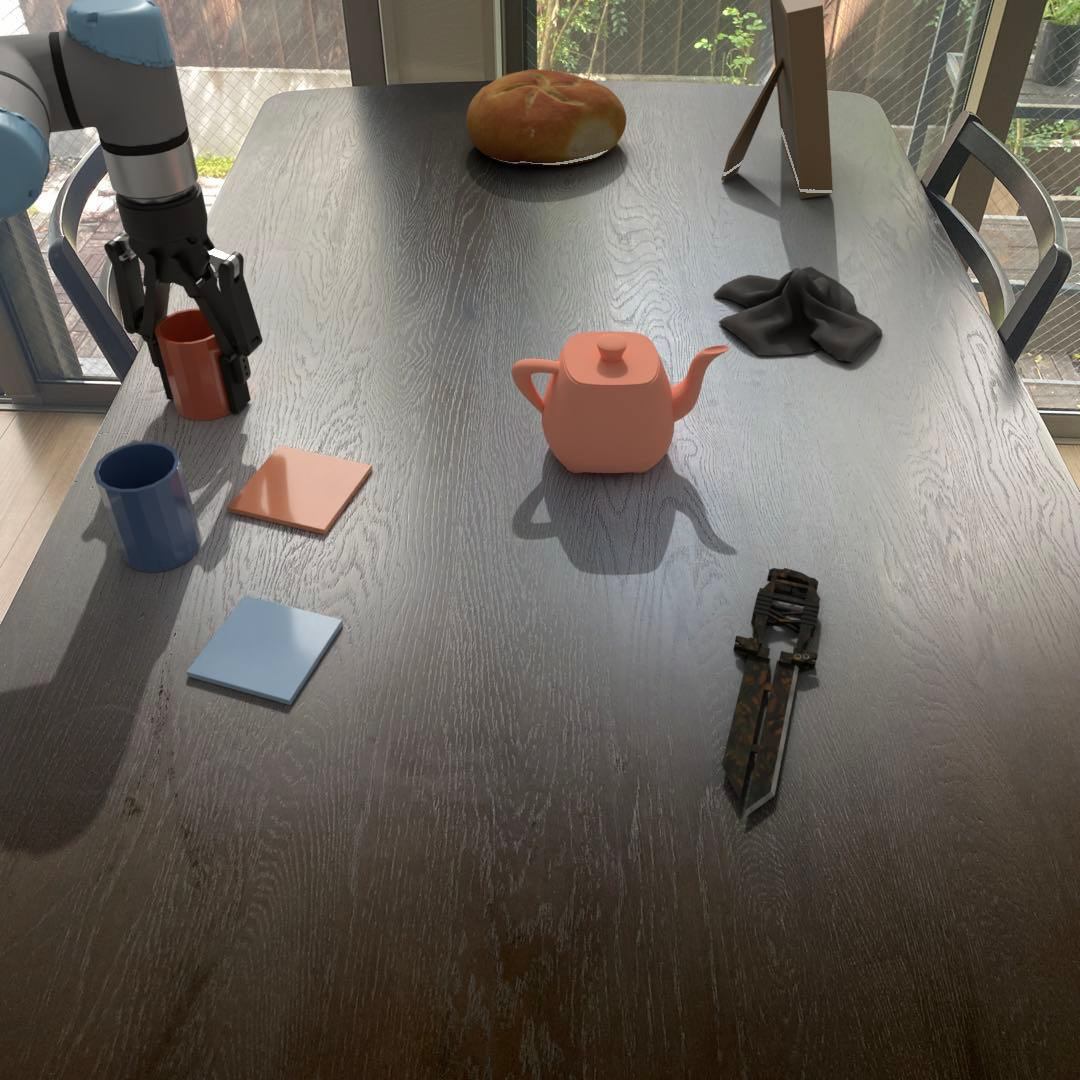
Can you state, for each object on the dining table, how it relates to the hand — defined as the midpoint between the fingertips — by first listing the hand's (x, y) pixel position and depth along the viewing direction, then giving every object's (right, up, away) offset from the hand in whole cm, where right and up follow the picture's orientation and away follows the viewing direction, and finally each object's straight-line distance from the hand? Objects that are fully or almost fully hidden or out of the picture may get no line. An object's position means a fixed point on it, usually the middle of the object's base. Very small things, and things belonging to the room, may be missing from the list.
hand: (208, 399), depth 112 cm
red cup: (0, 0, 0) cm, 0 cm away
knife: (+52, -26, -29) cm, 65 cm away
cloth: (+64, +12, +14) cm, 67 cm away
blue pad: (+13, -23, -26) cm, 37 cm away
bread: (+35, +44, +51) cm, 76 cm away
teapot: (+42, -6, -5) cm, 43 cm away
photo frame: (+68, +40, +46) cm, 91 cm away
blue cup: (+1, -15, -17) cm, 23 cm away
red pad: (+12, -10, -11) cm, 19 cm away
